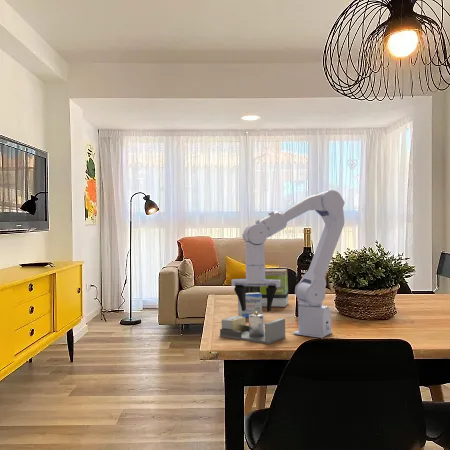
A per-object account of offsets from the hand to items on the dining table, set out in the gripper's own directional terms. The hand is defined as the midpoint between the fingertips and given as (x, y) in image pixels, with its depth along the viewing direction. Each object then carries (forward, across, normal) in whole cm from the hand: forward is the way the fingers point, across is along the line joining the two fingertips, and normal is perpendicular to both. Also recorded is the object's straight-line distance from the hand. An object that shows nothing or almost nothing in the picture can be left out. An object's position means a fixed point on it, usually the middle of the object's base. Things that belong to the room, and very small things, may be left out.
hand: (256, 310), depth 138 cm
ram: (+8, +8, -3) cm, 12 cm away
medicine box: (+8, +10, -30) cm, 32 cm away
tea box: (+8, +8, -56) cm, 57 cm away
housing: (+7, 0, 0) cm, 7 cm away
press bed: (+8, +2, 0) cm, 8 cm away
